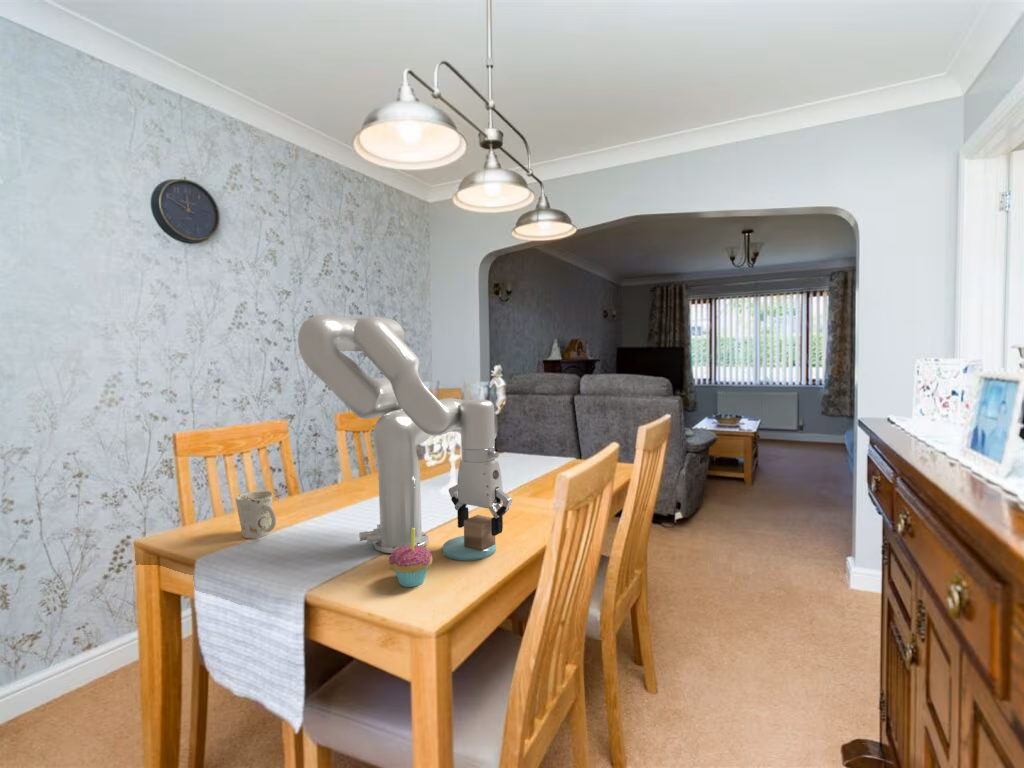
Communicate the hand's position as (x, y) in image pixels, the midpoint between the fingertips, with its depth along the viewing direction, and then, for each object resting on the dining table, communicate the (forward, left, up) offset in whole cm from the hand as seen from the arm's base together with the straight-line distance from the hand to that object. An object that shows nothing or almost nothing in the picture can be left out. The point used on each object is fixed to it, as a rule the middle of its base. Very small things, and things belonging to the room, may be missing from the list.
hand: (479, 529), depth 116 cm
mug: (-45, +35, -5) cm, 57 cm away
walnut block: (0, 0, -4) cm, 4 cm away
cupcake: (-18, -8, -5) cm, 20 cm away
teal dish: (-2, +2, -5) cm, 5 cm away
